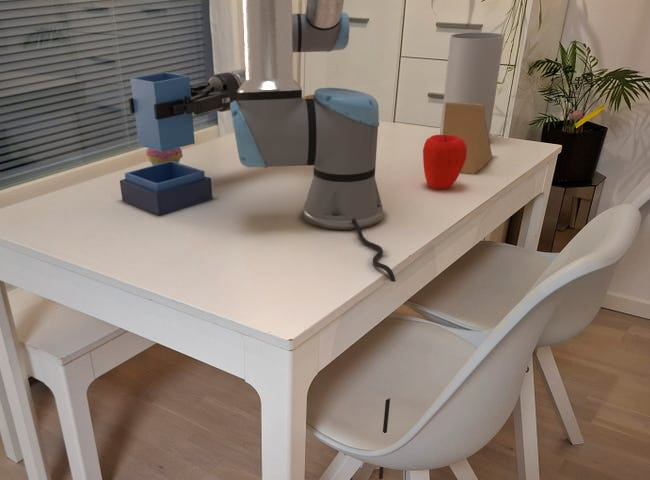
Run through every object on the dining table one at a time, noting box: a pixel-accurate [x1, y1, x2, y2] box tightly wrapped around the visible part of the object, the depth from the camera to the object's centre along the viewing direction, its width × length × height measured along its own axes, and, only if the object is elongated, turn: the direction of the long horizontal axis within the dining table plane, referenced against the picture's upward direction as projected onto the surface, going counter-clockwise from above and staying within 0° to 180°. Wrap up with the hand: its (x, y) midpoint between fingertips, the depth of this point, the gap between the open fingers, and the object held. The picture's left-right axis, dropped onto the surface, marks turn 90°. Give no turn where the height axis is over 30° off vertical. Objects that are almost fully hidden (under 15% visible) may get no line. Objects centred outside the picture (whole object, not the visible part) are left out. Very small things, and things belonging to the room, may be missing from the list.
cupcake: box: [145, 147, 183, 166], centre depth 158 cm, size 9×8×12 cm
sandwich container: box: [443, 102, 493, 175], centre depth 156 cm, size 9×15×15 cm, turn 148°
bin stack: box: [119, 161, 213, 217], centre depth 143 cm, size 14×14×6 cm
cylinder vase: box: [439, 32, 505, 137], centre depth 170 cm, size 12×12×25 cm
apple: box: [422, 134, 467, 190], centre depth 143 cm, size 9×9×11 cm
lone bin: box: [130, 71, 196, 152], centre depth 136 cm, size 8×8×13 cm
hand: (142, 109), depth 132 cm, fingers closed on lone bin, 8 cm apart
